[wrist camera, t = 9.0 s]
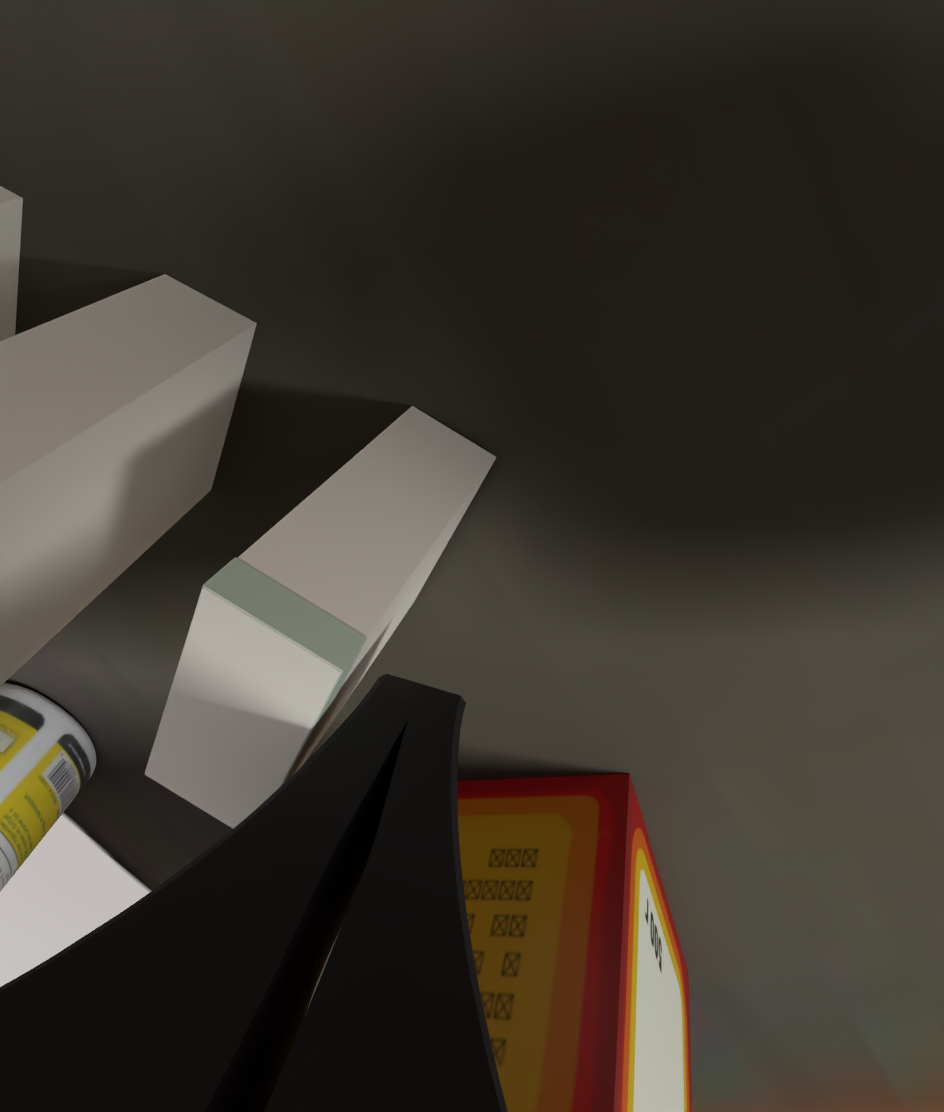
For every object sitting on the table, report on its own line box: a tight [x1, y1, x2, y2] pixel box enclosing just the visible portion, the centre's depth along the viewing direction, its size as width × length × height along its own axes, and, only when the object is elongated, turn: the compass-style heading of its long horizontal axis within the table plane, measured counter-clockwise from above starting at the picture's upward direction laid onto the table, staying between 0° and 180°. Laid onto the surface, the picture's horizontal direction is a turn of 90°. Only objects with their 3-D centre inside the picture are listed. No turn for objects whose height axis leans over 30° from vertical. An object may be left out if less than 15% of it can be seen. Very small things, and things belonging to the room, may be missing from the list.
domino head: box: [145, 406, 496, 829], centre depth 13 cm, size 2×4×7 cm, turn 154°
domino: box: [0, 274, 257, 686], centre depth 13 cm, size 2×4×7 cm, turn 155°
